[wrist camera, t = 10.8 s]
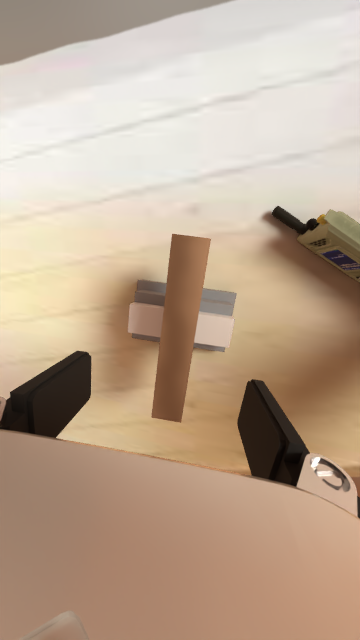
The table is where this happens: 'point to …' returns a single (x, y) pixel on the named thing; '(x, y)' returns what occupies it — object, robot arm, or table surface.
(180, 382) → the walnut bar
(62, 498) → the robot arm
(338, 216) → the handheld radio
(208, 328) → the ridge stand
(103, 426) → the table surface
